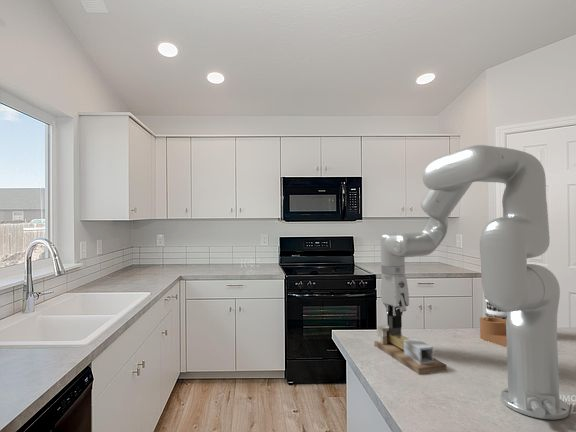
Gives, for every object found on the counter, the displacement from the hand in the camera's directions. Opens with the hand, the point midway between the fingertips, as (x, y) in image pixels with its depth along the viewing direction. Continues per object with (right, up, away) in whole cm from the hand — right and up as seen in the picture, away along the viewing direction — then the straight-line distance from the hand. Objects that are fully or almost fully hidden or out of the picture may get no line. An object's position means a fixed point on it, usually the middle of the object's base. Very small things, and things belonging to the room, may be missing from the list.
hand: (394, 326), depth 117 cm
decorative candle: (+43, -7, +14) cm, 46 cm away
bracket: (+40, -7, +4) cm, 41 cm away
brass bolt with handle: (+1, -5, -4) cm, 7 cm away
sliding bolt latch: (+2, -7, -7) cm, 10 cm away
